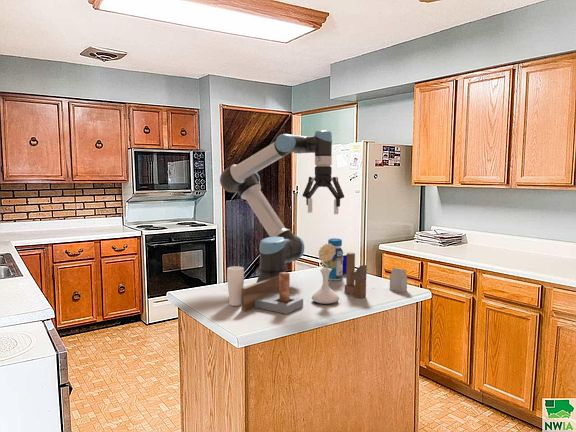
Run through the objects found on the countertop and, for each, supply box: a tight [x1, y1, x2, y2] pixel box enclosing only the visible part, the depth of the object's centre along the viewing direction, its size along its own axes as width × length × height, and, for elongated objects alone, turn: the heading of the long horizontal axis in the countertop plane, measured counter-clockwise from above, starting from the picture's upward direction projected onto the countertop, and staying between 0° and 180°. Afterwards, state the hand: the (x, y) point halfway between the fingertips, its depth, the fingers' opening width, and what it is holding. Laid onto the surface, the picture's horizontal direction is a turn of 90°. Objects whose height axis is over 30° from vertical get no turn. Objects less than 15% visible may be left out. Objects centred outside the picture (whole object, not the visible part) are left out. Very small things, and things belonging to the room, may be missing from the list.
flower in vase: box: [311, 243, 340, 305], centre depth 183 cm, size 13×11×25 cm
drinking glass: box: [226, 266, 245, 307], centre depth 180 cm, size 7×7×15 cm
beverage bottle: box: [327, 238, 344, 281], centre depth 223 cm, size 8×8×20 cm
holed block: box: [255, 293, 304, 315], centre depth 177 cm, size 15×12×3 cm
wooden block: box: [343, 252, 367, 299], centre depth 194 cm, size 4×11×18 cm, turn 30°
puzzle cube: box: [322, 252, 347, 275], centre depth 238 cm, size 10×10×10 cm
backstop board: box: [240, 276, 279, 312], centre depth 182 cm, size 2×24×9 cm, turn 146°
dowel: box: [279, 271, 291, 303], centre depth 175 cm, size 4×4×14 cm
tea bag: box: [389, 266, 408, 293], centre depth 203 cm, size 4×7×10 cm, turn 38°
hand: (322, 213), depth 201 cm, fingers open, 13 cm apart
